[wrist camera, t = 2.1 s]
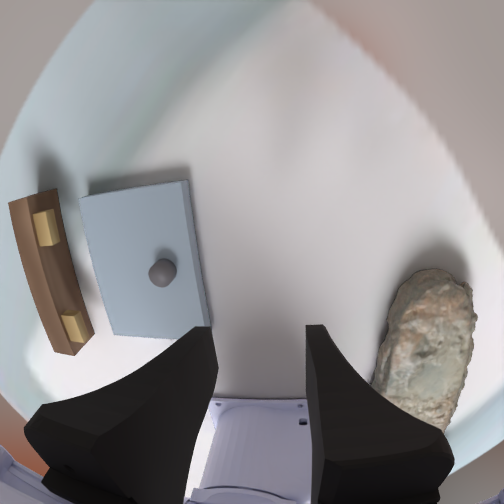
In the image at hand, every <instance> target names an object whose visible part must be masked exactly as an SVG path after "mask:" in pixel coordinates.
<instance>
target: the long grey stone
mask: <svg viewBox="0 0 504 504" xmlns="http://www.w3.org/2000/svg"><path fill="white" fill-rule="evenodd" d="M472 291H473V290H472V288H471V287H470V286H469V285H468V283H467V282H463V283H461V284H460V285H456V281H455V279H454V277H453V276H452V275H451V274H449V273H448V272H446V271H443V270H440V269H429V270H422V271H419V272H416V273H415V274H414V275H413V276H412V277H411V278H410V279H409V280H407V281H405V282H404V283H403V284H402V285H401V286H400V287H399V289H398V293H397V296H396V299H395V300H394V303H393V304H392V306H391V308H390V310H389V315H388V318H387V322H388V324H389V330H388V333H387V335H386V337H385V341H384V342H383V343H382V345H381V346H380V348H379V352H378V357H377V368H376V369H375V372H374V374H375V378H374V380H373V382H372V384H371V387H372V388H373V389H375V390H376V391H377V392H378V393H379V394H380V395H382V396H383V397H384V398H386V399H387V400H389V401H390V402H391V403H393V404H394V405H396V406H397V407H398V408H400V409H402V410H403V411H405V412H407V413H409V414H410V415H412V416H414V417H416V418H418V419H420V420H422V421H424V422H426V423H428V424H431V425H433V426H435V427H437V428H439V429H441V430H442V432H443V434H444V432H445V429H446V427H447V426H448V425H449V424H450V419H451V417H452V416H453V414H454V412H455V410H456V407H457V406H458V405H457V402H458V398H459V396H460V393H461V390H462V389H463V388H464V385H465V383H464V381H465V378H466V377H467V373H468V371H467V366H468V364H469V363H470V361H471V357H472V351H473V349H474V343H473V338H472V333H473V331H474V330H475V322H476V321H477V318H478V316H477V314H476V313H474V310H473V302H472V297H473V295H472Z"/></svg>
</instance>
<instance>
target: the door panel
mask: <svg viewBox="0 0 504 504" xmlns="http://www.w3.org/2000/svg"><path fill="white" fill-rule="evenodd" d="M78 200H79V205H80V211H81V216H82V221H83V226H84V230H85V235H86V239H87V244H88V248H89V252H90V256H91V260H92V264H93V268H94V272H95V275H96V279H97V283H98V286H99V289H100V293H101V296H102V300H103V303H104V306H105V309H106V312H107V315H108V318H109V321H110V324H111V327H112V330H113V333H114V335H120V336H132V337H146V338H162V339H180V338H181V337H182V336H183V335H185V334H186V333H187V332H188V331H190V330H191V329H192V328H194V327H195V326H211V324H210V318H209V313H208V307H207V302H206V296H205V290H204V285H203V279H202V273H201V267H200V261H199V254H198V248H197V241H196V235H195V228H194V221H193V214H192V207H191V200H190V192H189V185H188V180H181V181H174V182H166V183H159V184H152V185H146V186H139V187H133V188H126V189H120V190H115V191H109V192H103V193H98V194H92V195H88V196H85V197H82V198H79V199H78ZM211 331H212V329H211Z"/></svg>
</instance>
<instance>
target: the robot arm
mask: <svg viewBox="0 0 504 504" xmlns="http://www.w3.org/2000/svg"><path fill="white" fill-rule="evenodd" d="M218 369H219V367H218V362H217V357H216V352H215V347H214V342H213V337H212V331H211V326H195V327H194V328H192V329H191V330H190V331H188V332H187V333H186V334H185V335H183V336H182V337H181V338H180V339H178V340H177V341H176V342H175V343H173V344H172V345H171V346H170V347H168V348H167V349H166V350H165V351H163V352H162V353H161V354H159V355H158V356H156V357H155V358H154V359H152V360H151V361H149V362H148V363H147V364H145V365H144V366H142V367H141V368H139V369H138V370H136V371H134V372H133V373H131V374H129V375H127V376H125V377H124V378H122V379H120V380H118V381H116V382H114V383H111V384H109V385H107V386H105V387H102V388H100V389H98V390H95V391H93V392H90V393H87V394H84V395H81V396H78V397H74V398H71V399H67V400H62V401H58V402H53V403H48V404H42V405H41V406H40V408H39V409H38V410H37V411H36V413H35V414H34V415H33V417H32V418H31V419H30V420H29V422H28V423H27V424H26V426H25V427H24V433H25V436H26V438H27V440H28V442H29V443H30V444H31V446H32V447H33V448H34V450H35V451H36V452H37V453H38V454H39V455H40V457H41V458H42V459H43V460H44V461H45V462H46V464H47V465H48V466H49V467H50V468H49V470H48V471H47V473H46V474H45V476H44V477H43V476H41V475H39V474H37V473H35V472H34V471H32V470H30V469H28V468H27V467H25V466H23V465H21V464H20V463H18V462H17V461H15V460H14V459H13V457H12V456H11V455H10V454H9V452H8V451H7V450H6V449H5V448H4V447H2V446H1V445H0V504H437V502H439V500H440V495H439V490H438V487H439V486H440V485H441V484H442V482H443V481H444V480H445V478H446V477H447V476H448V474H449V473H450V471H451V470H452V468H453V466H454V460H455V459H454V456H453V453H452V450H451V447H450V445H449V443H448V441H447V439H446V437H445V435H444V434H443V432H442V430H441V429H439V428H437V427H435V426H433V425H431V424H428V423H426V422H424V421H422V420H420V419H418V418H416V417H414V416H412V415H410V414H409V413H407V412H405V411H403V410H402V409H400V408H398V407H397V406H396V405H394V404H393V403H391V402H390V401H389V400H387V399H386V398H384V397H383V396H382V395H380V394H379V393H378V392H377V391H376V390H375V389H373V388H372V387H371V386H370V385H369V384H368V383H367V382H366V381H365V380H364V379H363V378H362V377H361V376H360V375H359V374H358V373H357V372H356V371H355V369H354V368H353V367H352V366H351V365H350V364H349V362H348V361H347V360H346V359H345V357H344V356H343V355H342V353H341V352H340V351H339V349H338V348H337V346H336V345H335V343H334V342H333V340H332V339H331V337H330V335H329V333H328V331H327V330H326V327H325V326H324V325H323V324H322V325H306V396H307V399H297V400H254V399H227V398H212V395H213V392H214V389H215V384H216V379H217V374H218ZM299 404H302V405H299ZM208 407H209V410H210V414H211V417H212V421H213V424H214V428H215V434H214V438H213V441H212V445H211V448H210V452H209V455H208V459H207V462H206V466H205V469H204V473H203V476H202V480H201V483H200V487H199V489H198V488H193V491H192V495H191V498H188V497H184V496H185V490H186V484H187V479H188V474H189V469H190V464H191V459H192V455H193V451H194V447H195V443H196V439H197V436H198V433H199V430H200V428H201V425H202V422H203V420H204V417H205V414H206V411H207V409H208ZM477 504H504V488H503V489H502V490H501V491H500V492H499V494H498V495H495V496H493V497H491V498H489V499H486V500H484V501H481V502H479V503H477Z"/></svg>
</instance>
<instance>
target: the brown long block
mask: <svg viewBox="0 0 504 504" xmlns="http://www.w3.org/2000/svg"><path fill="white" fill-rule="evenodd" d="M8 204H9V210H10V215H11V220H12V225H13V229H14V234H15V238H16V242H17V246H18V250H19V254H20V257H21V261H22V265H23V268H24V271H25V275H26V278H27V281H28V284H29V287H30V290H31V293H32V296H33V299H34V302H35V305H36V308H37V310H38V313H39V316H40V318H41V321H42V323H43V326H44V328H45V331H46V333H47V336H48V338H49V340H50V343H51V345H52V347H53V350H54V352H57V353H61V354H66V355H72V356H75V355H76V354H77V353H78V352H79V350H80V349H81V348H82V347H83V346H84V345H85V344H86V343H87V342H88V341H89V340H90V339H91V337H92V336H93V335H94V334H95V333H94V331H93V328H92V325H91V322H90V319H89V316H88V314H87V311H86V308H85V304H84V301H83V298H82V295H81V292H80V288H79V285H78V282H77V278H76V275H75V271H74V267H73V264H72V260H71V256H70V252H69V248H68V244H67V239H66V235H65V230H64V226H63V221H62V216H61V211H60V205H59V200H58V194H57V189H53V190H49V191H45V192H41V193H37V194H34V195H30V196H27V197H24V198H21V199H18V200H15V201H12V202H9V203H8Z"/></svg>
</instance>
